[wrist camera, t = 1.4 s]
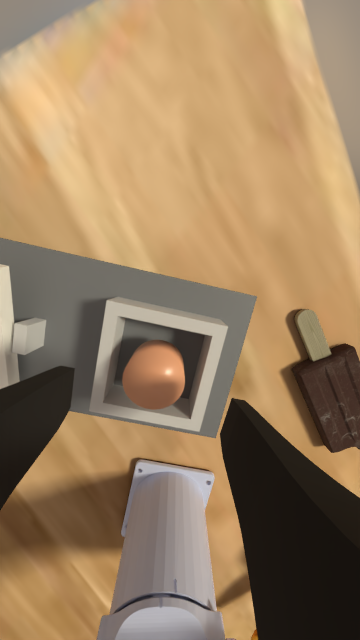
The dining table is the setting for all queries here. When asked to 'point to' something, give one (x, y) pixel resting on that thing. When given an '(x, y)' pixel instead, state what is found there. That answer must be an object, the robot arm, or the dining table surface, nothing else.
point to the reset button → (154, 375)
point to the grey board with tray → (124, 332)
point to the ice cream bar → (329, 385)
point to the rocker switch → (7, 332)
